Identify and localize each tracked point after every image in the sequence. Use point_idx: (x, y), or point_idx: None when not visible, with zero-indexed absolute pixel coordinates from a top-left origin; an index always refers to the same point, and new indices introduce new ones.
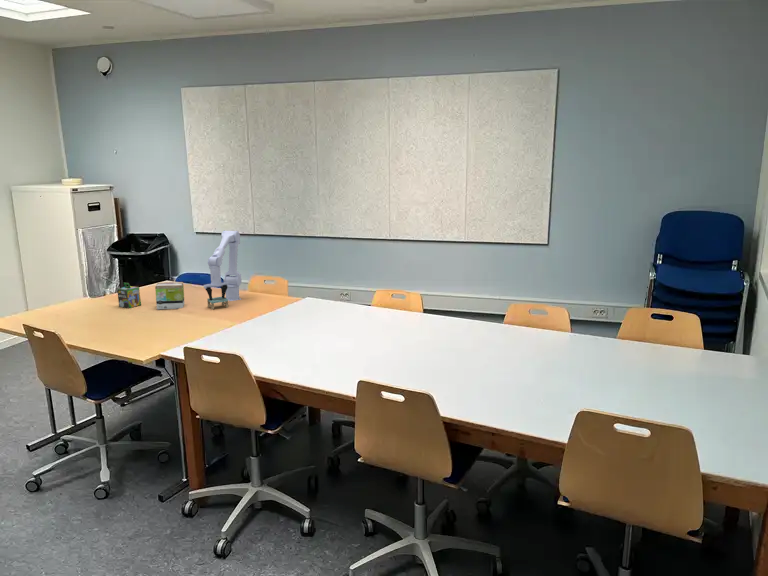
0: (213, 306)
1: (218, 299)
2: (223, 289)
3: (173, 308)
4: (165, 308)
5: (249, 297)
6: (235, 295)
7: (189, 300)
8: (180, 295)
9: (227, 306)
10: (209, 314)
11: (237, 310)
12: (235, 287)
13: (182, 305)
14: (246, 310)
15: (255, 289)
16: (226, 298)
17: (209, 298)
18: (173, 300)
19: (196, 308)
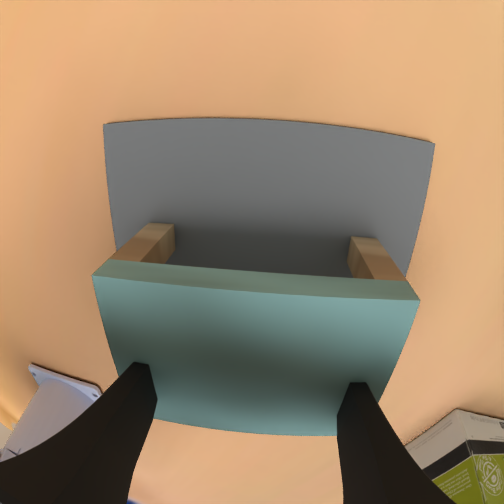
0: (367, 254)
1: (248, 352)
2: (81, 490)
3: (483, 416)
4: (501, 420)
5: (4, 369)
6: (45, 405)
7: (305, 490)
8: (487, 484)
9: (154, 227)
10: (479, 88)
11: (107, 36)
12: (17, 451)
13: (463, 424)
14: (44, 3)
15: (10, 424)
16: (106, 324)
17: (335, 432)
18: (497, 455)
19: (410, 381)
